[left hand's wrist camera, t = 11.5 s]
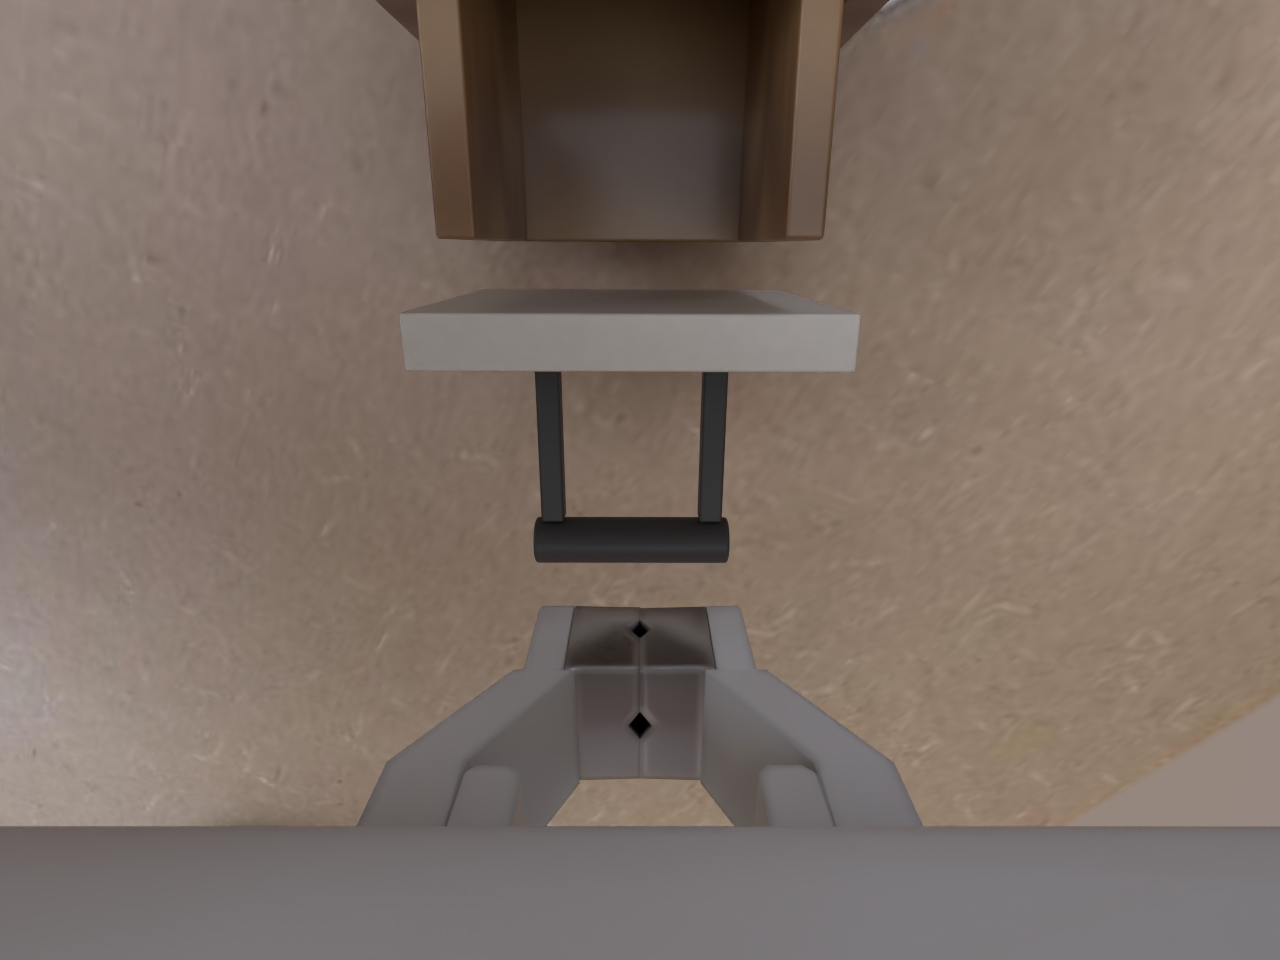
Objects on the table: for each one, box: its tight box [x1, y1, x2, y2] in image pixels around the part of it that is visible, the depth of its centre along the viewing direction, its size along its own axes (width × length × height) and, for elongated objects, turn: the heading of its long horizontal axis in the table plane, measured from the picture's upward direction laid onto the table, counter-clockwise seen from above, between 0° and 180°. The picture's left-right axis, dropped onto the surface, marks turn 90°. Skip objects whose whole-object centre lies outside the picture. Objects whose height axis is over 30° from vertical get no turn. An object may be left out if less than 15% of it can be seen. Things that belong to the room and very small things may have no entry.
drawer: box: [399, 0, 861, 563], centre depth 16 cm, size 23×10×8 cm, turn 0°
